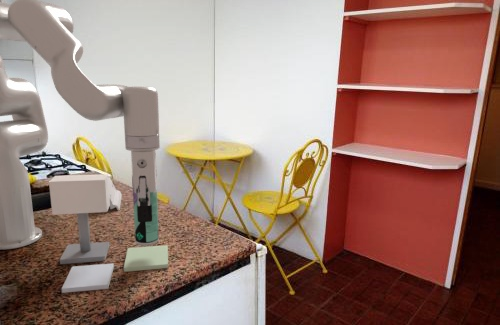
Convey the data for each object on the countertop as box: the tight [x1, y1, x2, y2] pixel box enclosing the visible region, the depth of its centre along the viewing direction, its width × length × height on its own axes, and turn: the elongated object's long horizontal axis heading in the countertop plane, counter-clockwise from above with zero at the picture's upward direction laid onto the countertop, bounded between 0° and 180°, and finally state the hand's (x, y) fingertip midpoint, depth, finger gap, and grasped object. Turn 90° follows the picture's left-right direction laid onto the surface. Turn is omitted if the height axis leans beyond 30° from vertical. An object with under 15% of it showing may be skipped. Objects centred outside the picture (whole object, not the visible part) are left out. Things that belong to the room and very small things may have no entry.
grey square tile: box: [61, 262, 115, 294], centre depth 81 cm, size 9×9×1 cm
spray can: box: [131, 162, 160, 247], centre depth 87 cm, size 6×6×20 cm
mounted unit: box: [48, 173, 110, 265], centre depth 89 cm, size 12×8×20 cm, turn 103°
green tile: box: [123, 244, 169, 273], centre depth 90 cm, size 10×10×1 cm
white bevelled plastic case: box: [108, 176, 123, 212], centre depth 127 cm, size 17×5×10 cm, turn 16°
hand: (145, 215), depth 88 cm, fingers closed on spray can, 5 cm apart
